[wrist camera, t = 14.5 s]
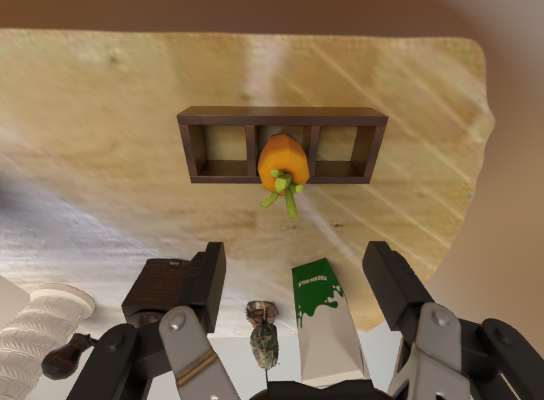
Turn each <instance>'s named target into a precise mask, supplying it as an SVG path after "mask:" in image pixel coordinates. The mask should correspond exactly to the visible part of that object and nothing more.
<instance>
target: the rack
mask: <svg viewBox="0 0 544 400" xmlns="http://www.w3.org/2000/svg"><path fill="white" fill-rule="evenodd" d="M177 119H178V124H179V128H180V133H181V137H182V142H183V147H184V151H185V156H186V161H187V165H188V170H189V175H190V179H191V183H261V184H262V181H261V178H260V175H259V171H258V163H259V161H258V139H257V125H293V126H304V132H303V144H302V148H303V150H304V152H305V155H306V157H307V163H308V169H309V175H310V177H309V179H308V180H307V182H306V183H305V184H369V183H370V180H371V176H372V173H373V170H374V166H375V163H376V159H377V156H378V152H379V149H380V145H381V141H382V138H383V134H384V131H385V127H386V124H387V121H388V116H386V115H384V114H382V113H380V112H378V111H376V110H374V109H371V108H341V107H228V106H191V107H189V108H187V109H186V110H184V111H182V112H181V113H179V114H177ZM202 125H246V126H245V128H246V147H247V161H231V160H207V154H206V147H205V141H204V134H203V128H202ZM320 126H358V130H357V135H356V139H355V144H354V148H353V153H352V158H351V161H316V158H317V150H318V142H319V134H320Z"/></svg>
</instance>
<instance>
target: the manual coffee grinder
mask: <svg viewBox="0 0 544 400" xmlns="http://www.w3.org/2000/svg"><path fill="white" fill-rule="evenodd" d="M190 263H191V262H188V261H181V260H165V259H149V260H147V262H146V264H145V266H144V268H143V270H142V272H141V273H140V275H139V277H138V278H137V280H136V281H135V283H134V285H133V286H132V288H131V290H130V291H129V293H128V295H127V296H126V298H125V300H124V301H123V303H122V305H121V307H122V310H123V313H124V316H125V319H126V322H127V323H128V324H132V325H133V326H134V327H135V328H139V327H142V326H145V325H148V324H151V323H154V322H156V321H159V320H161V319H162V318H163V317H164V316H165V314H166V313H167V312H169V311H170V310H172V309H173V307H174V305H175V303H176V300H177V297H178V295H179V292H180V289H181V287H182V284H183V281H184V279H185V277H186V273H187V271H188V269H189V265H190ZM97 342H98V340H97V339H92V338H91V337H90V334H88V335H83V334H80V333H74V335H73V337H72V339H71V340H70V342H69V343H68V344H66V345H64V346H62V347H60V348H58V349H55V350H52V351H51V352H49V353H48V354H47V355H46V356H45V357H44V359H43V361H42V363H41V367H42V370H43V374H44V375H45V376H46V377H48V378H50V379H53V380H60V379H66V378H68V377H69V376H71V375H72V374H73V373H74V372H75V371H76V369H77V367H78V364H79V359H80V356H81V354H82V353H83V352H84V351H85V350H86V349H88V348H90V347H91V346H94V347H95V345H96V344H97Z"/></svg>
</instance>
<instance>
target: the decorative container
mask: <svg viewBox="0 0 544 400" xmlns="http://www.w3.org/2000/svg"><path fill="white" fill-rule="evenodd" d="M30 301H31V303H30V304H28V305H27V306H25V307H24V308H23V309H21V311H19V313H18V315H17V317H16V318H15V319H14V320H13V321H11V322H10V323H8V324H7V325H6V326H4V328H3V329H2V330H1V332H0V400H24V399H25V397H26V396H27V395H28V394H29V393H30V392H31V391H32V390H33V389H34V388H35V387H36V386H37V383H38V381H39V378H40V376H41V375H42V374H43V370H42V367H41V363H42V361H43V359H44V357H45V356H46V355H47V354H48V353H49V352H51V351H52V350H55V349H58V348H60V347H62V346H64V345H66V342H67V341H68V338H69V336H70V335H71V334H72V333H73V332H74V331H75V330H76V329H77V328H78V326H79V322H80V321H81V320H84V319H87V318H88V317H90V315H91V314H92V313H93V311H94V310H95V306H96V305H95V302H94V301H93V299H92V298H91V297H90V296H88V295H87V294H86V293H84V292H82V291H80V290H79V289H76V288H73V287H71V286H67V285H62V284H44V285H41V286H39V287H38V288H36V289H35V290H34V291H33V292H32V293H31V295H30Z"/></svg>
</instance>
